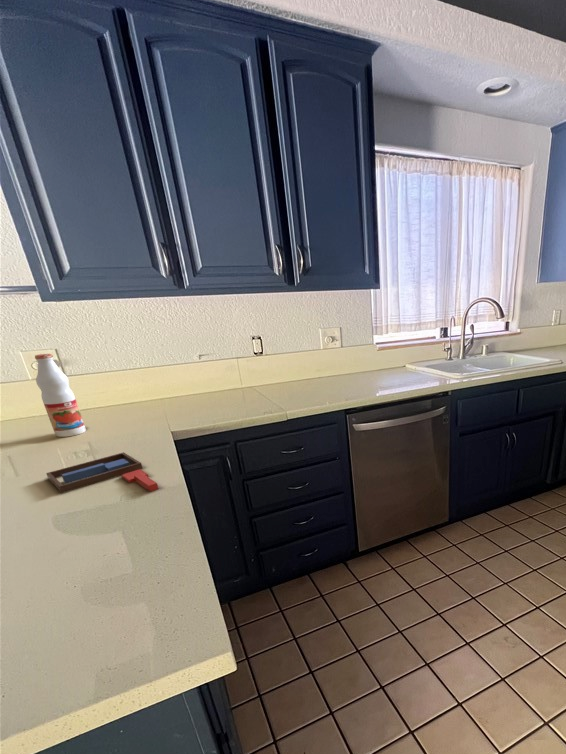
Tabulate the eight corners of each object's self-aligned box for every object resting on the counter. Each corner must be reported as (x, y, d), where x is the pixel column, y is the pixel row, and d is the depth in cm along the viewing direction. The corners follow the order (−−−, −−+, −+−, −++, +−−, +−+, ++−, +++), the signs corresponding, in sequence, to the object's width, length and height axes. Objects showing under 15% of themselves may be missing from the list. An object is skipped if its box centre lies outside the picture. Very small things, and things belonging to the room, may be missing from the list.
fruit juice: (79, 427, 162) (52, 351, 150) (91, 431, 157) (65, 353, 146) (51, 435, 155) (21, 355, 143) (62, 439, 150) (32, 357, 139)
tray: (62, 495, 108) (59, 486, 107) (49, 481, 117) (46, 473, 116) (143, 470, 121) (141, 462, 120) (126, 459, 130) (123, 452, 129)
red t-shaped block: (165, 489, 109) (162, 481, 108) (145, 496, 106) (142, 487, 105) (141, 474, 119) (139, 466, 118) (122, 480, 116) (120, 471, 115)
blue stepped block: (67, 485, 112) (64, 477, 111) (62, 481, 115) (59, 473, 114) (130, 467, 123) (128, 459, 122) (124, 463, 126) (122, 455, 125)
